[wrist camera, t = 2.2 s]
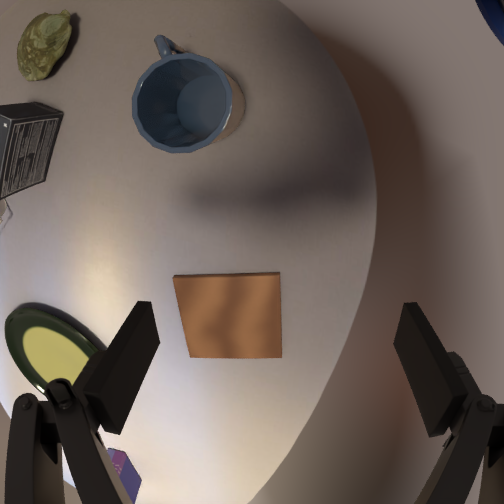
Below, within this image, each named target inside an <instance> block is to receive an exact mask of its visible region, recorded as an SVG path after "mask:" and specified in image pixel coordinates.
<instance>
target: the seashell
mask: <svg viewBox="0 0 504 504" xmlns="http://www.w3.org/2000/svg"><path fill="white" fill-rule="evenodd" d="M69 20H70V13H69V12H68V11H67V10H63V11H62V12H61V13H60V14H55V15H52V14H48V13H43V14H40V15H38V16H37V17H35V18H34V19H33V20H32V21H31V22H30V23H29V25H28V26H27V27H26V29H25V30H24V32H23V34H22V36H21V39H20V41H19V44H18V48H17V59H18V66H19V70H20V72H21V74H22V75H23V76H24V77H25V78H26V79H27V81H35V80H42V79H43V78H45V77H46V76H47V75H48V74H49V73H50V71H51V69H52V67H53V66H54V64H55V63H56V61H57V60H58V59H59V58H60V57H62V56H63V54H64V52H65V50H66V47H67V43H68V40H69V38H70V35H71V31H72V26H71V25H70V24H69Z"/></svg>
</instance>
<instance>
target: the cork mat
mask: <svg viewBox="0 0 504 504" xmlns="http://www.w3.org/2000/svg"><path fill="white" fill-rule="evenodd" d="M173 282H174V287H175V292H176V297H177V302H178V307H179V311H180V316H181V320H182V325H183V329H184V334H185V338H186V342H187V346H188V351H189V355H190V357H191V358H282V337H281V296H280V272H277V273H247V274H211V275H174V277H173Z"/></svg>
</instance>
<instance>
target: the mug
mask: <svg viewBox="0 0 504 504" xmlns="http://www.w3.org/2000/svg"><path fill="white" fill-rule="evenodd" d="M154 42H155V44H156V47H157V49H158V51H159V54H160V56H161V58H162V59H161V60H159V61H157V62H155V63H153V64H152V65H151V66H150V67H149V68H148V69H147V70H146V72H145V73H144V74H143V75H142V76H141V77H140V78H139V80H138V83H137V85H136V88H135V91H134V93H133V96H132V116H133V119H134V122H135V124H136V126H137V129H138V131H139V133H140V135H141V136H143V137H144V138H145V139H146V140H147V141H148V142H149V143H150V144H151V145H152V146H153V147H155V148H158V149H161V150H163V151H166V152H169V153H190V152H193V151H196V150H198V149H200V148H202V147H205V146H207V145H209V144H212V143H214V142H216V141H218V140H220V139H223V138H225V137H227V136H229V135H230V134H231V133H232V132H233V131H234V130H235V129H236V128H237V127H238V126H239V124H240V122H241V121H242V118H243V116H244V112H245V98H244V95H243V92H242V90H241V89H240V86H239V85H238V84H237V83H236V82H235V81H234V80H233V79H232V78H231V77H229V76H228V75H227V74H226V73H225V72H224V71H223V70H222V69H221V68H219V67H218V66H217V65H216V64H215V63H214V62H213V61H211V60H210V59H209V58H206V57H202V56H199V55H196V54H193V53H185V50H184V49H183V48H181V47H180V46H178V45H177V44H175V43H174V42H172V41H171V40H169V39H168V38H166V37H165V36H163V35H157V36H156V37H155V39H154ZM172 53H173V54H172Z"/></svg>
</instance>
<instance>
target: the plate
mask: <svg viewBox="0 0 504 504" xmlns="http://www.w3.org/2000/svg"><path fill="white" fill-rule="evenodd" d="M5 339H6V343H7V346H8V349H9V352H10V354H11V356H12V358H13V360H14V362H15V363H16V365H17V366H18V368H19V369H20V371H21V372H22V374H23V375H24V376H25V377H26V378H27V380H28V381H29V382H30V383H31V384H32V385H33V386H34V387H35V388H36V389H37V390H39V391H40V392H41V393H42V394H43V395H45V394H44V389H45V387H46V385H47V384H48V383H49V382H50V381H52V380H54V379H57V378H65V379H67V380H69V381H70V383H71V384H72V385H73V383H74V382H75V380H76V378H77V377H78V375H79V374H80V372H81V371H82V369H83V367H84V366H85V365H86V363H87V361H88V360H89V358H90V356H92V355H93V354H94V353H95V352H97V351H98V349H97V348H96V347H95V346H94V345H93V344H92V343H91V342H90V341H89V340H88V339H87V338H86V337H84V336H83V335H82V334H81V333H80V332H78V331H77V330H76V329H75V328H73V327H72V326H70V325H69V324H67V323H66V322H64V321H63V320H61V319H59V318H57V317H55V316H53V315H51V314H49V313H46V312H44V311H41V310H37V309H33V308H21V309H17V310H15V311H13V312H12V313H11V314H10V315H9V316H8V317H7V319H6V321H5Z"/></svg>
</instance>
